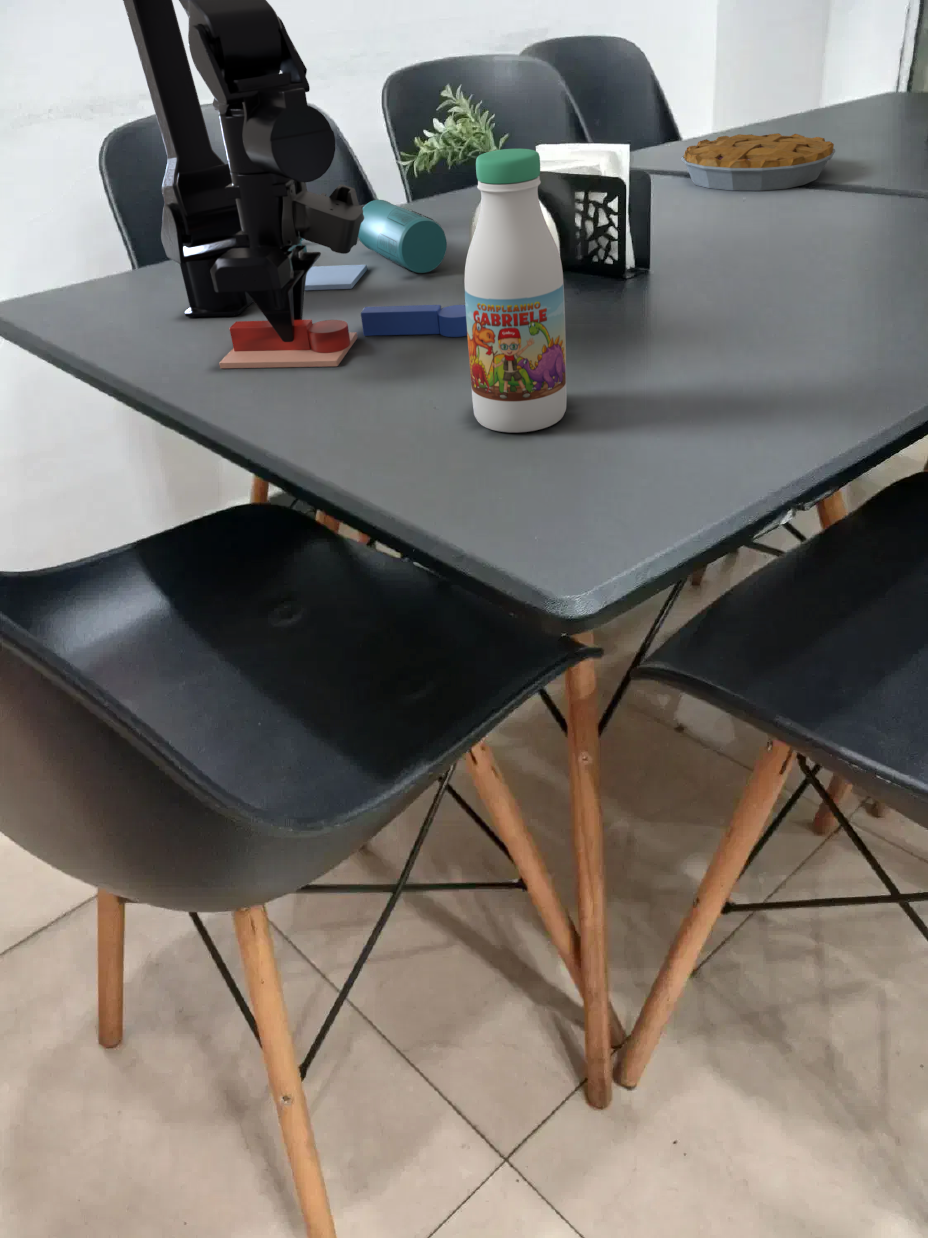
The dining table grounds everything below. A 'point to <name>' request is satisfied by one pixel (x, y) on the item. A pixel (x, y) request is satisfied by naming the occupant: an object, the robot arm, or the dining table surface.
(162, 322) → the dining table surface
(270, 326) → the red bar with disc
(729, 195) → the dining table surface
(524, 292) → the milk bottle
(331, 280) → the mat blue
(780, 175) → the pie
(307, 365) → the pink flat board
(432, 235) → the beverage bottle
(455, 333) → the blue bar with disc
